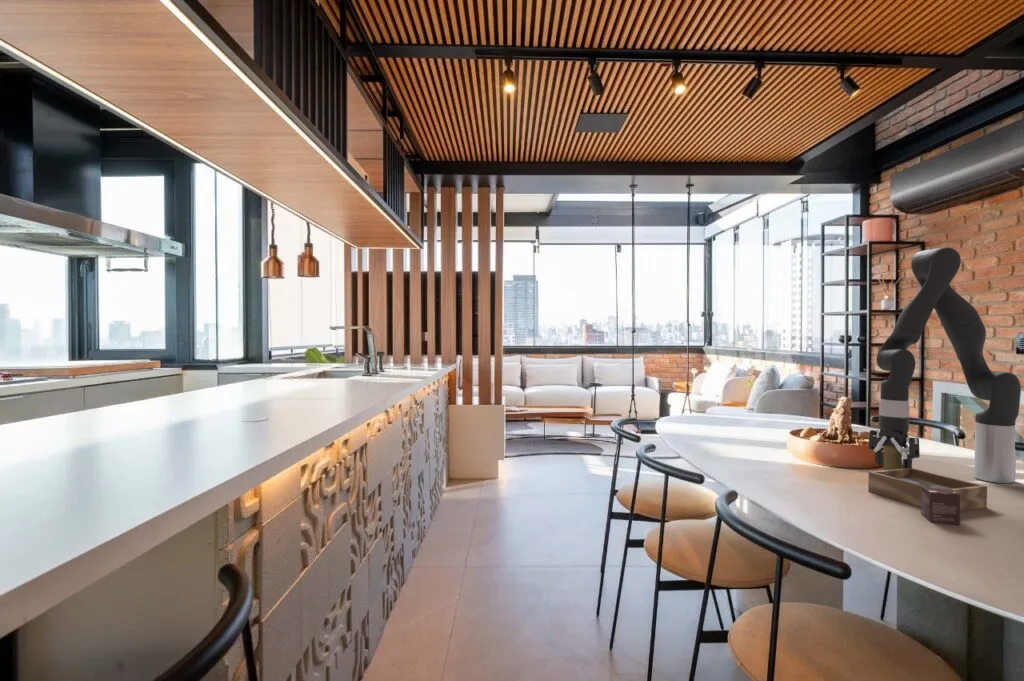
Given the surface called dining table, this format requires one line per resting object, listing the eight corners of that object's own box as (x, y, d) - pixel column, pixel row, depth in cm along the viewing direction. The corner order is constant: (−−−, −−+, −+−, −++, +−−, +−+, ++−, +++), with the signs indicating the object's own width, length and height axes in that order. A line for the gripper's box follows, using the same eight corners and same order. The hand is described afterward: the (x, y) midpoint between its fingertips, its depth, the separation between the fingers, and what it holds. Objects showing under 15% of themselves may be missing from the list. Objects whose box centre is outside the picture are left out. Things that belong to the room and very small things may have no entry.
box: (949, 517, 135) (950, 487, 135) (960, 525, 129) (961, 494, 129) (920, 514, 137) (920, 485, 137) (929, 522, 131) (930, 491, 131)
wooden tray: (910, 486, 161) (910, 467, 161) (986, 507, 142) (987, 486, 142) (868, 491, 156) (868, 471, 156) (941, 513, 137) (942, 491, 137)
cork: (909, 484, 164) (909, 447, 163) (886, 483, 165) (887, 446, 165) (899, 478, 170) (899, 443, 169) (877, 477, 171) (877, 442, 171)
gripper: (926, 417, 161) (925, 473, 161) (881, 410, 175) (880, 461, 175) (907, 418, 159) (906, 474, 159) (863, 411, 172) (861, 463, 173)
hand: (892, 467), depth 167 cm, fingers open, 8 cm apart
